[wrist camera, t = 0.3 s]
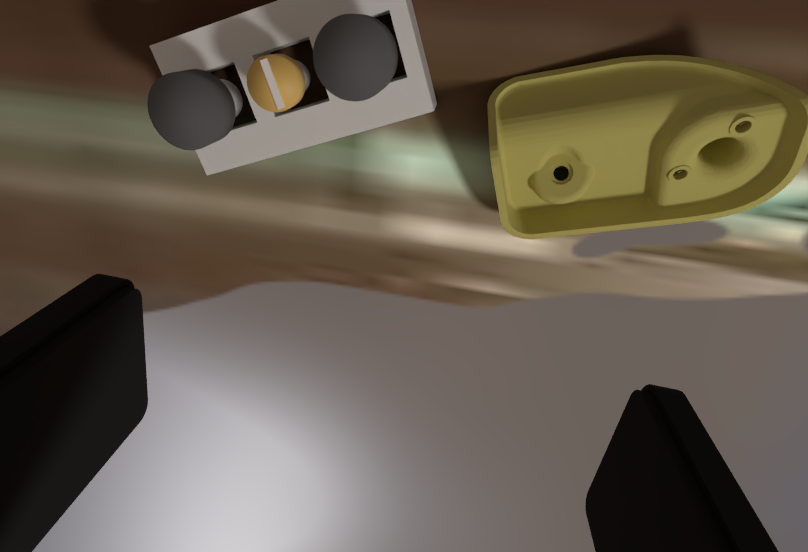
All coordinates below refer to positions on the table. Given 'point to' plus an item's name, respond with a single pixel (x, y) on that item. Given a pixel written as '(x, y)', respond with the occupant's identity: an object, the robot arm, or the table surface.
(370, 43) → the knob
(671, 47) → the table surface
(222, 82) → the knob
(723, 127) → the plastic component
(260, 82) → the pot knob
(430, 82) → the mount
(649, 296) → the table surface
